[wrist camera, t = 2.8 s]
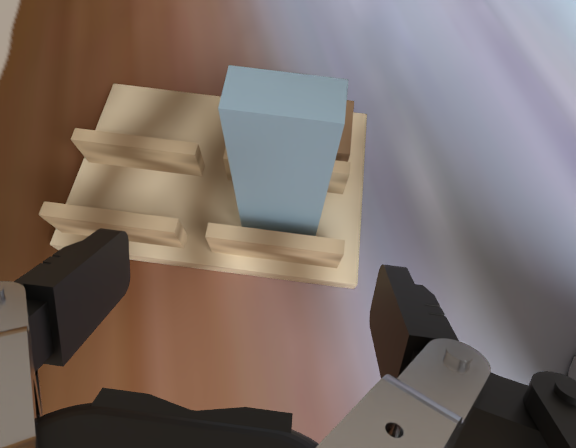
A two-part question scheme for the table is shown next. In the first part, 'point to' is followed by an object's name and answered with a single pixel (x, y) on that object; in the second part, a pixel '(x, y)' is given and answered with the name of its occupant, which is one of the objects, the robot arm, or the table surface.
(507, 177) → the table surface
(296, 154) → the slate-blue rectangular block
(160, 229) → the maple rack
